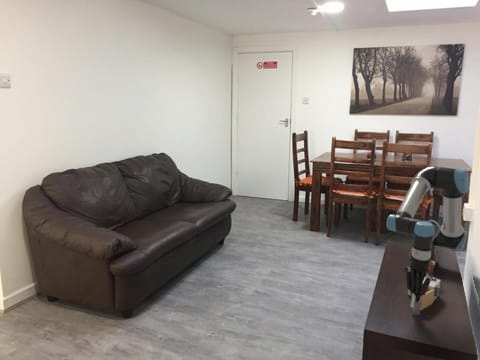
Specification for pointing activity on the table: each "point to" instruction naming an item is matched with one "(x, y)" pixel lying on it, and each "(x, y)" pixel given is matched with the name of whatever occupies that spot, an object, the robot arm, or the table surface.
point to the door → (424, 300)
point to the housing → (433, 284)
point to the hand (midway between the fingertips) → (414, 307)
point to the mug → (431, 268)
